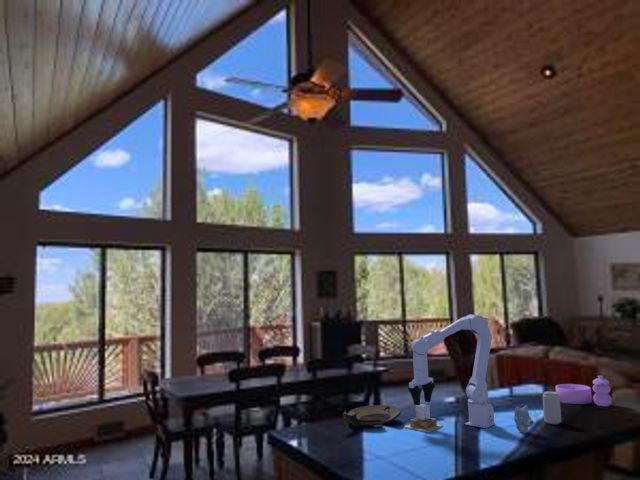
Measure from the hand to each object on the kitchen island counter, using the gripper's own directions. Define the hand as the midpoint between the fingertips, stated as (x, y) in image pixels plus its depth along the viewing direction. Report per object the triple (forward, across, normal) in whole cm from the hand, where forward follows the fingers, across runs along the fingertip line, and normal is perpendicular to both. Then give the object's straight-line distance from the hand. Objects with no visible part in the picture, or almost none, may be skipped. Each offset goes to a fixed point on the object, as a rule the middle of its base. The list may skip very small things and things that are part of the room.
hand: (422, 403), depth 215 cm
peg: (+9, 0, 0) cm, 9 cm away
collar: (+9, 0, 0) cm, 9 cm away
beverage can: (+10, -37, +37) cm, 53 cm away
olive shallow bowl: (+10, +9, -21) cm, 25 cm away
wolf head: (+10, -16, +35) cm, 40 cm away
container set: (+10, -82, +34) cm, 89 cm away
